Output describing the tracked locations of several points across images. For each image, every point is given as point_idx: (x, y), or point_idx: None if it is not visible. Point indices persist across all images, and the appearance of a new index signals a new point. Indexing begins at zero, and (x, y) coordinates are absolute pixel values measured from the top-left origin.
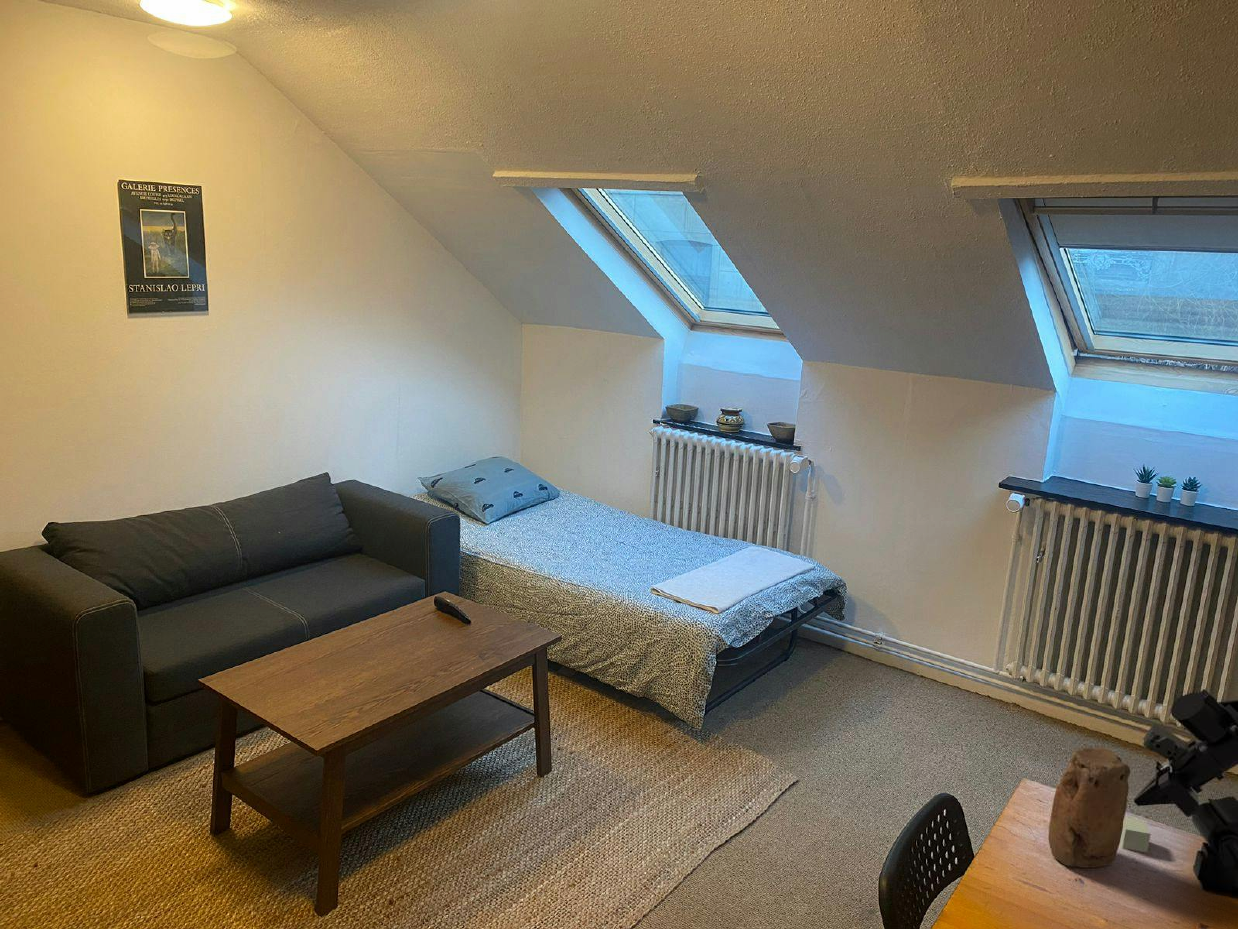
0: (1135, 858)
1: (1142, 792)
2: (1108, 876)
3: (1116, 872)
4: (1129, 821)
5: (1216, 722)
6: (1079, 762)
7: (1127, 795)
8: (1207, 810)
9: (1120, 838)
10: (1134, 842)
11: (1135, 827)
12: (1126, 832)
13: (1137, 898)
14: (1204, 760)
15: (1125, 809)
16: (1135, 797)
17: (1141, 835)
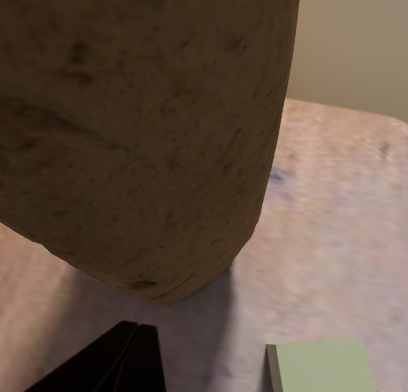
0: (228, 379)
1: (79, 383)
2: (113, 286)
3: (137, 310)
4: (343, 368)
5: None
6: None
7: (27, 238)
8: None
9: (144, 300)
10: (275, 382)
11: (310, 388)
12: (274, 349)
13: (37, 353)
14: None
15: (82, 270)
16: (151, 334)
17: None
